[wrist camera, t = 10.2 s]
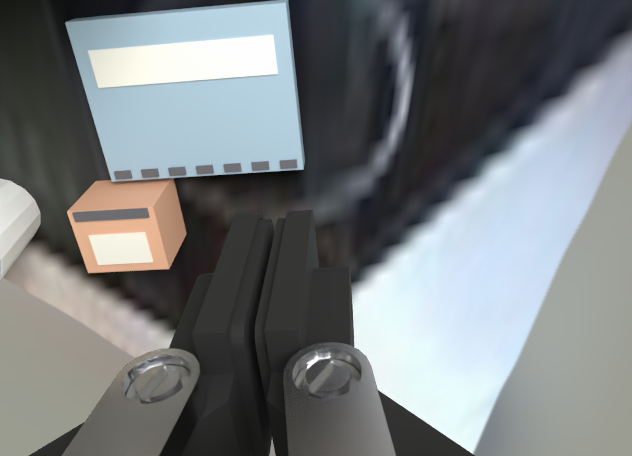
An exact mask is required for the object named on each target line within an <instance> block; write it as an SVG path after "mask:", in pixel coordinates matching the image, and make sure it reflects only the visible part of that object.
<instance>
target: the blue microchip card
mask: <svg viewBox="0 0 632 456" xmlns="http://www.w3.org/2000/svg"><path fill="white" fill-rule="evenodd" d="M65 24H66V28H67V31H68V34H69V38H70V41H71V45H72V48H73V51H74V55H75V58H76V61H77V65H78V68H79V72H80V75H81V78H82V82H83V85H84V89H85V92H86V95H87V99H88V102H89V106H90V109H91V112H92V116H93V119H94V123H95V126H96V129H97V133H98V136H99V140H100V143H101V146H102V150H103V153H104V156H105V160H106V163H107V167H108V170H109V173H110V177H111V180H112V182H115V181H131V180H147V179H162V178H178V177H193V176H209V175H224V174H240V173H256V172H271V171H287V170H302V169H304V163H305V158H304V148H303V139H302V129H301V120H300V110H299V101H298V91H297V82H296V72H295V62H294V53H293V43H292V34H291V24H290V15H289V5H288V0H277V1H266V2H255V3H243V4H232V5H221V6H210V7H199V8H187V9H176V10H165V11H154V12H143V13H131V14H120V15H109V16H98V17H87V18H75V19H72V20H70V21H67V22H65Z"/></svg>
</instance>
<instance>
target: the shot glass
mask: <svg viewBox="0 0 632 456" xmlns="http://www.w3.org/2000/svg"><path fill="white" fill-rule="evenodd" d="M39 226H40V210H39V208H38V206H37V204H36V202H35V200H34V199H33V198H32V196H31V195H30V194H29V193H28V192H27V191H26V190H25V189H24V188H22V187H20V186H19V185H17V184H15V183H13V182H12V181H9V180H4V179H0V281H1V280H2V278H3V277H4V276H5V274H6V273H7V271H8V270H9V269H10V267H11V266H12V265H13V263H14V262H15V261H16V259H17V258H18V257H19V255H20V254H21V252H22V251H23V250H24V248H25V247H26V246H27V244H28V243H29V242H30V240H31V239H32V237H33V236H34V235H35V233H36V231H37V230H38V228H39Z"/></svg>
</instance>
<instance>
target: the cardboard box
mask: <svg viewBox="0 0 632 456" xmlns="http://www.w3.org/2000/svg"><path fill="white" fill-rule="evenodd" d="M67 214H68V216H69V219H70V222H71V225H72V228H73V231H74V234H75V236H76V239H77V242H78V245H79V248H80V251H81V254H82V257H83V259H84V262H85V265H86V268H87V271H88V273H98V272H118V271H138V270H158V269H169V268H170V266H171V264H172V262H173V260H174V258H175V256H176V254H177V252H178V250H179V248H180V246H181V244H182V242H183V240H184V238H185V236H186V229H185V225H184V221H183V216H182V212H181V208H180V204H179V199H178V195H177V191H176V187H175V182H174V178H162V179H147V180H131V181H115V182H112V180H105V181H95V182H94V184H93V185H92V186H91V187H90V188H89V189H88V190H87V191H86V192H85V193H84V194H83V195H82V196H81V197H80V198H79V199H78V201H77V202H76V203H75V204H74V205H73V206H72V207H71V208H70V209H69V210H68V211H67Z"/></svg>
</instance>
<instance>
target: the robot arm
mask: <svg viewBox="0 0 632 456" xmlns="http://www.w3.org/2000/svg"><path fill="white" fill-rule="evenodd" d="M272 438H273V444H274V448H275V454H276V456H475V455H473V454H472V453H470V452H469V451H467V450H466V449H464V448H463V447H461V446H460V445H458V444H457V443H455V442H454V441H452V440H451V439H449V438H448V437H446V436H445V435H443V434H442V433H441V432H439V431H438V430H436V429H435V428H433V427H432V426H430V425H429V424H427V423H426V422H424V421H423V420H421V419H420V418H418V417H417V416H415V415H414V414H412V413H411V412H409V411H408V410H407V409H405V408H404V407H402V406H401V405H399V404H398V403H396V402H395V401H393V400H392V399H390V398H389V397H387V396H386V395H384V394H383V393H381V392H380V391H378V389H377V386H376V382H375V378H374V375H373V371H372V368H371V365H370V363H369V361H368V359H367V357H366V356H365V355H364V354H363V353H362V352H361V351H359V350H358V349H356V348H354V329H353V308H352V292H351V278H350V267H328V268H319V263H318V254H317V244H316V234H315V224H314V215H313V211H312V210H305V211H288V212H287V214H286V218H279V219H278V220H277V224H276V229H275V234H274V231H273V224H272V220H271V219H263V216H262V214H261V213H253V214H236V215H235V217H234V219H233V222H232V225H231V228H230V230H229V233H228V236H227V239H226V241H225V244H224V247H223V250H222V252H221V255H220V258H219V261H218V263H217V266H216V269H215V272H214V273H208V274H200V275H199V276H198V278H197V280H196V282H195V285H194V287H193V290H192V292H191V295H190V297H189V300H188V302H187V305H186V307H185V310H184V312H183V315H182V317H181V319H180V322H179V324H178V327H177V329H176V332H175V334H174V337H173V339H172V342H171V344H170V347H169V348H168V349H159V350H155V351H151V352H148V353H146V354H144V355H141V356H139V357H137V358H136V359H134V360H133V361H131V362H130V363H129V364H127V365H126V366H125V367H124V368H123V369H122V370H121V371H120V372H119V374H118V375H117V376H116V378H115V379H114V381H113V382H112V384H111V385H110V386H109V388H108V389H107V391H106V392H105V394H104V395H103V396H102V398H101V399H100V401H99V402H98V404H97V405H96V407H95V408H94V410H93V411H92V413H91V414H90V415H89V417H88V418H87V420H86V421H85V422H84V423H82V424H81V425H79V426H77V427H76V428H74V429H72V430H71V431H69V432H67V433H66V434H64V435H62V436H61V437H59V438H57V439H56V440H54V441H52V442H51V443H49V444H47V445H46V446H44V447H42V448H41V449H39V450H38V451H36V452H34V453H32V454H31V455H29V456H269V454H270V446H271V440H272Z"/></svg>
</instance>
